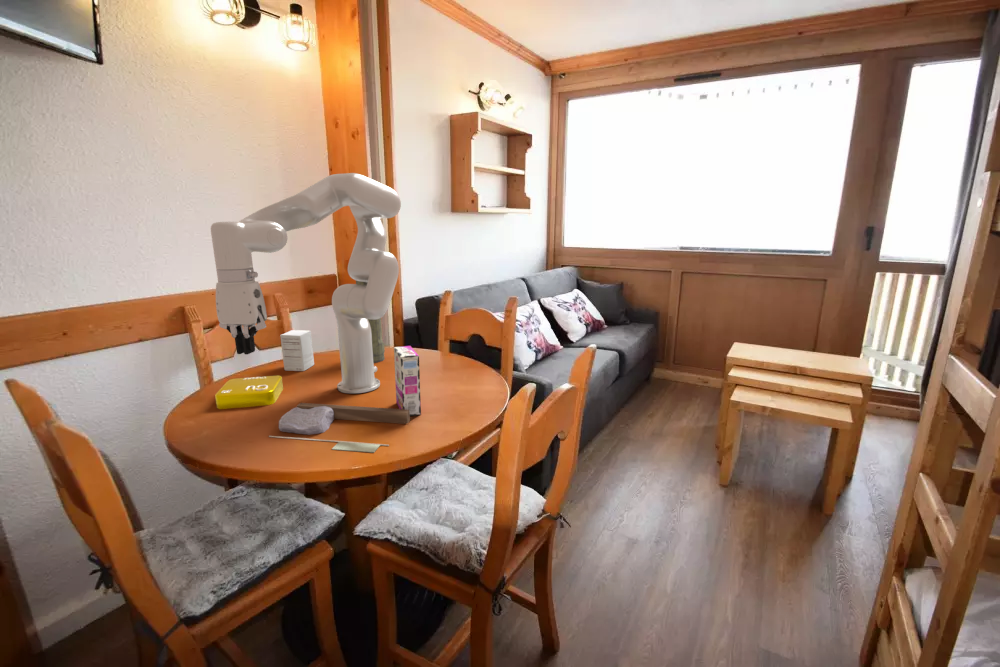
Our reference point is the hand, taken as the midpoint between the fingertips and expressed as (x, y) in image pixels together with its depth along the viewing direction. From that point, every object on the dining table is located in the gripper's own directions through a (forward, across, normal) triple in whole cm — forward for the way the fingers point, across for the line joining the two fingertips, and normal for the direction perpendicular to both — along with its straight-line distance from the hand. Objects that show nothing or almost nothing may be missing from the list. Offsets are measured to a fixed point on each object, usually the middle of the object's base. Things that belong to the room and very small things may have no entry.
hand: (246, 352), depth 115 cm
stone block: (+20, -13, -2) cm, 23 cm away
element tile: (+20, +14, -18) cm, 30 cm away
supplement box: (+19, +16, -46) cm, 52 cm away
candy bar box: (+19, -34, -16) cm, 42 cm away
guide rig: (+19, -22, -1) cm, 29 cm away
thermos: (+19, -5, -58) cm, 62 cm away
